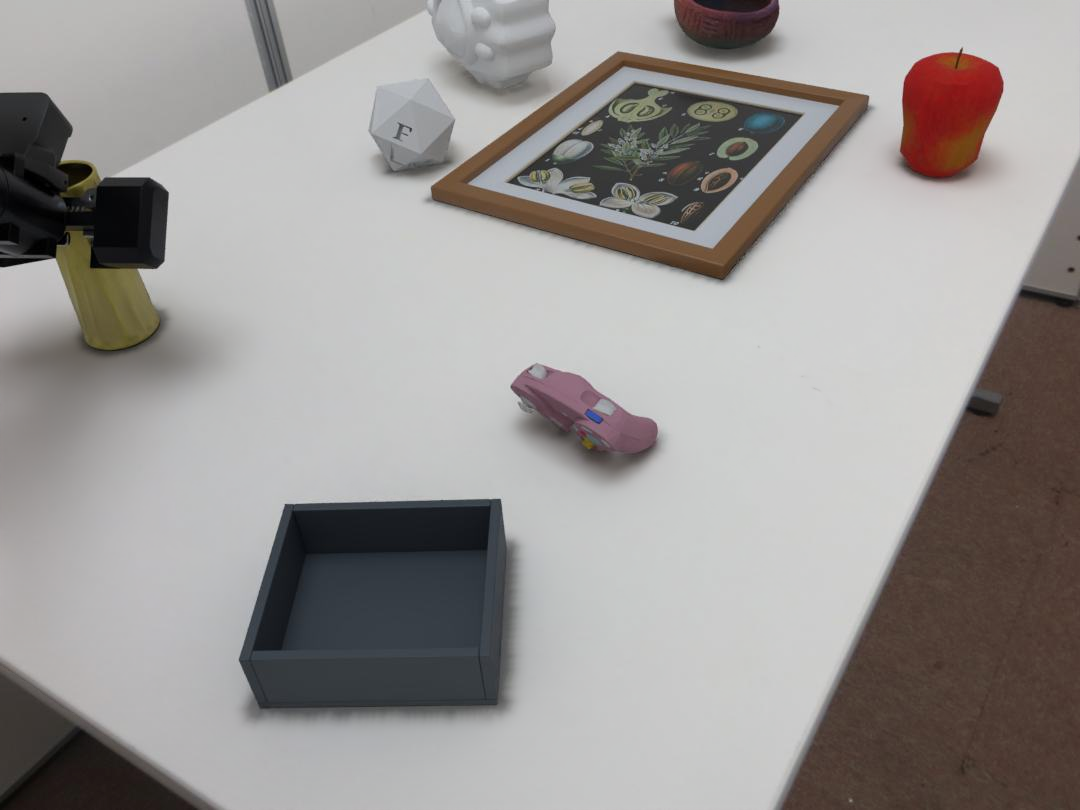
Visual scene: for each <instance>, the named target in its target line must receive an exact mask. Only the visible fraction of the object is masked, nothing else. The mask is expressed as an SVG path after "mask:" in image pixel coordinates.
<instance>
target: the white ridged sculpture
mask: <svg viewBox="0 0 1080 810" xmlns="http://www.w3.org/2000/svg"><path fill="white" fill-rule="evenodd" d="M549 7H550V0H427V2H426V11H427V13H428V15H430V16H431V25H432V29H433V31H434V35H435V37H436V39H437V41H438V42H439V43H440V44H441V45H442V46H443V48H445V49H446V51H447V52H448V53H449V55H451V57H452V58H453V59H454V60H455V61H457V62H458V64H460V66H462V67H463V68H464V69H465V70H466V71H467V72H468V73H470V74H471V75H472V76H473V78H474V79H475V80H476V81H477V83H479V84H480V85H485V84H489V85H490V86H491V87H493V88H495V89H498V90H499V89H501V90H503V89H506V88H509V87H513V86H516V85H519V84H522V83H524V82H526V81H527V79H528V78H529V77H530V75H531V74H532V73H533V72H537V71H539V70H542V69H544V68H548V67H550V66H551V65H552V64H553V57H554V55H553V49H552V40H553V38H554V36H555V34H556V30H557V26H556V23H555V20H554V19H553V17H552V15H551V13H550V9H549Z"/></svg>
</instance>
